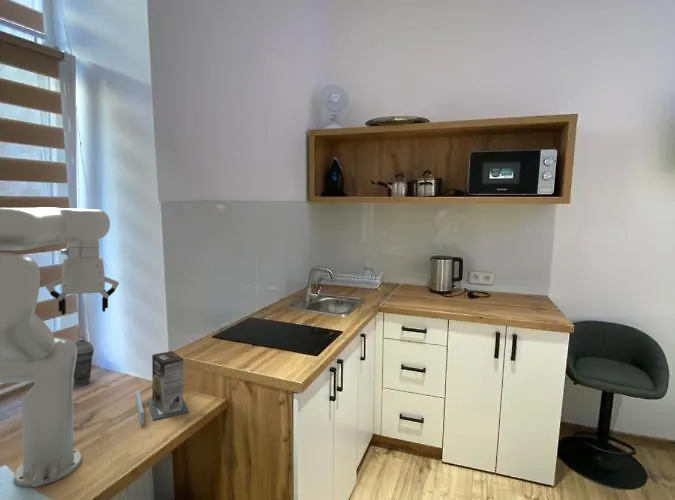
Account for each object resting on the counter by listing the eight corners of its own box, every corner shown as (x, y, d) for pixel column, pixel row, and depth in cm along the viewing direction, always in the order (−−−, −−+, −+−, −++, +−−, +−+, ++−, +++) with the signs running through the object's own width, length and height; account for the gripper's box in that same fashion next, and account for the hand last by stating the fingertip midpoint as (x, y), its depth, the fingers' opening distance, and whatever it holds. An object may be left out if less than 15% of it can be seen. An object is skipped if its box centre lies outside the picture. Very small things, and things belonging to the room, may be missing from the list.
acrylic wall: (143, 425, 108) (143, 412, 108) (140, 426, 108) (140, 412, 107) (138, 401, 121) (138, 389, 121) (135, 402, 121) (135, 390, 121)
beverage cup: (85, 388, 129) (84, 332, 128) (64, 387, 129) (63, 331, 128) (98, 379, 136) (98, 326, 135) (79, 378, 137) (78, 325, 135)
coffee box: (151, 403, 119) (151, 354, 118) (171, 397, 124) (172, 350, 123) (162, 414, 113) (162, 362, 112) (183, 407, 118) (183, 357, 117)
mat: (188, 412, 116) (188, 410, 116) (153, 420, 111) (153, 418, 111) (180, 395, 127) (180, 393, 127) (148, 401, 122) (148, 400, 122)
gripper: (43, 254, 99) (44, 318, 100) (118, 254, 108) (119, 312, 109) (47, 252, 105) (48, 312, 106) (118, 252, 114) (118, 306, 115)
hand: (84, 312), depth 108 cm, fingers open, 9 cm apart
